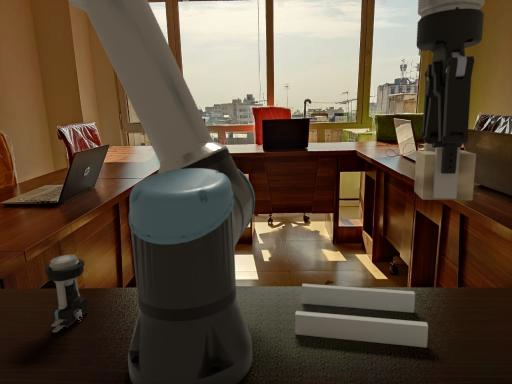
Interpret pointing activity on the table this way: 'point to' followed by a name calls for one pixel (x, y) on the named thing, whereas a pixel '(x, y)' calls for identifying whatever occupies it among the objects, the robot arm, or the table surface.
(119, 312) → the table surface
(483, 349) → the table surface
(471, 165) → the maple block
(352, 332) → the channel
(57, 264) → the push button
